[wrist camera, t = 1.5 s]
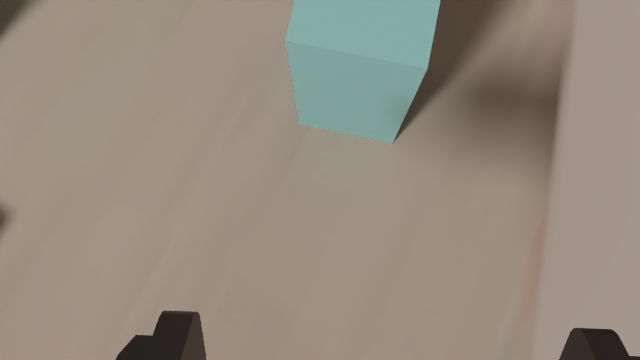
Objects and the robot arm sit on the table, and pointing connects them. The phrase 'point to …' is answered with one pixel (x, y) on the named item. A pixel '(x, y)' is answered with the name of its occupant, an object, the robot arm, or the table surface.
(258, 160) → the table surface
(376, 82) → the pillar
